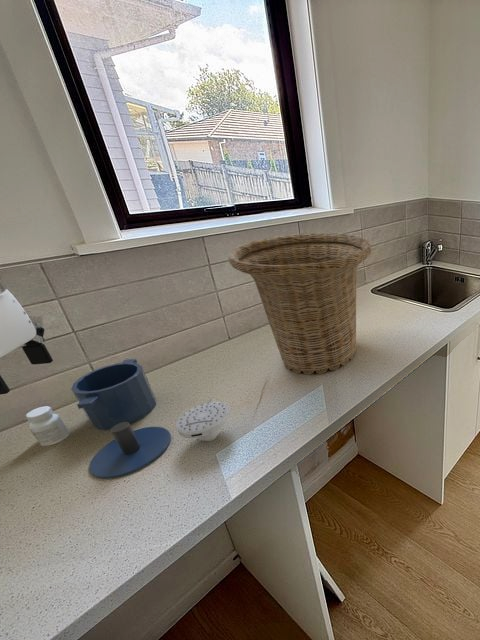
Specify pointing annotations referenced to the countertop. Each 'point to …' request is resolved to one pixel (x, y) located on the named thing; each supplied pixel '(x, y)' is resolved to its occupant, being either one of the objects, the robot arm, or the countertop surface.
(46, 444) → the pill bottle
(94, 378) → the pot
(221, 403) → the showerhead
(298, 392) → the countertop surface
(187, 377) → the countertop surface
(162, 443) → the lid
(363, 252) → the wicker basket
